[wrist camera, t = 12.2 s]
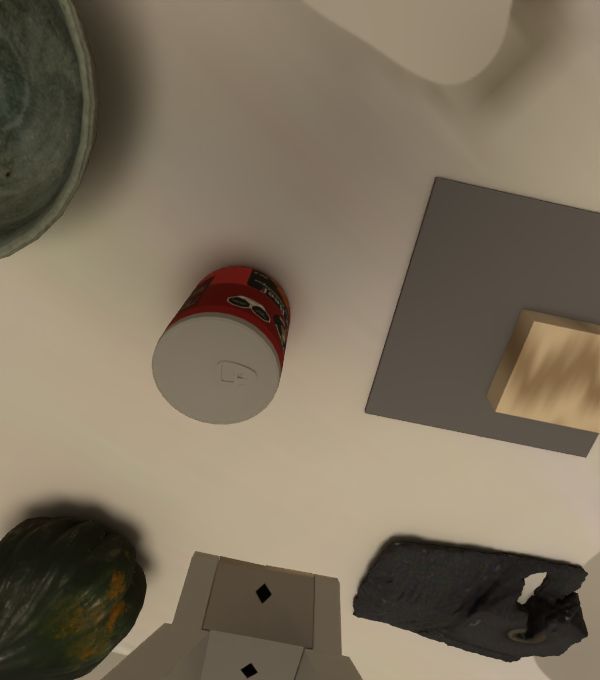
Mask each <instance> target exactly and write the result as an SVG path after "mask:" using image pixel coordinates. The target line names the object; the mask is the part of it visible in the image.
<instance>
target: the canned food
mask: <svg viewBox="0 0 600 680" xmlns="http://www.w3.org/2000/svg"><path fill="white" fill-rule="evenodd" d="M289 323H290V307H289V303H288V300H287V298H286V296H285V294H284V292H283V290H282V289H281V288H280V286H279V285H278V284H277V283H276V282H275V281H274V280H273V279H272V278H270V277H269V276H267V275H266V274H264V273H263V272H260V271H258V270H255V269H252V268H247V267H228V268H223V269H220V270H217V271H215V272H213V273H211V274H209V275H208V276H206V277H205V278H204V279H203V280H202V281H201V282H200V283H199V284H198V285H197V287H196V288H195V290H194V291H193V292H192V294H191V295H190V296H189V298H188V299H187V301H186V302H185V303H184V305H183V306H182V307H181V309H180V310H179V311H178V313H177V314H176V316H175V317H174V318H173V320H172V321H171V322H170V324H169V325H168V327H167V328H166V330H165V331H164V333H163V334H162V336H161V338H160V339H159V341H158V343H157V345H156V348H155V351H154V354H153V359H152V371H153V377H154V380H155V383H156V385H157V388H158V389H159V391H160V392H161V394H162V396H163V397H164V398H165V399H166V400H167V401H168V402H169V404H170V405H171V406H173V407H174V408H175V409H177V410H178V411H179V412H181V413H183V414H184V415H186V416H188V417H190V418H192V419H195V420H198V421H201V422H205V423H211V424H232V423H238V422H242V421H245V420H248V419H250V418H252V417H254V416H255V415H257V414H259V413H260V412H261V411H262V410H264V409H265V408H266V407H267V406H268V404H269V403H270V402H271V400H272V399H273V397H274V395H275V393H276V391H277V388H278V386H279V382H280V377H281V372H282V367H283V361H284V355H285V348H286V342H287V336H288V329H289Z"/></svg>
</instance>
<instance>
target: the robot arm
mask: <svg viewBox="0 0 600 680" xmlns="http://www.w3.org/2000/svg"><path fill="white" fill-rule="evenodd" d="M101 680H363V679H362V677H361V676H360V674H359V672H358V671H357V669H356V667H355V666H354V664H353V663H352V661H351V659H350V658H349V657H347V656H343V655H342V648H341V615H340V583H339V581H338V578H333V577H327V576H322V575H317V574H314V575H313V573H308V572H302V571H296V570H291V569H285V568H279V567H274V566H268V565H266V566H264V565H259V564H255V563H250V562H246V561H241V560H236V559H232V558H227V557H223V556H220V558H219V556H217V555H212V554H207V553H202V552H197V551H195V553H194V555H193V557H192V559H191V563H190V566H189V569H188V573H187V576H186V579H185V583H184V586H183V589H182V593H181V596H180V600H179V603H178V606H177V610H176V613H175V616H174V620H173V623H172V624H168V623H164V624H163V625H162V626H161V627H160V628H158V629H157V630H156V631H155V632H154V633H153V634H152V635H151V636H149V637H148V638H147V639H146V640H145V641H144V642H143V643H142V644H140V645H139V646H138V647H137V648H136V649H135V650H134V651H133V652H131V653H130V654H129V655H128V656H127V657H126V658H125V659H124V660H123V661H121V662H120V663H119V664H118V665H117V666H116V667H115V668H113V669H112V670H111V671H110V672H109V673H108V674H107V675H106V676H104V677H103V678H102V679H101Z"/></svg>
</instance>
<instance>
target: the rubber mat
mask: <svg viewBox="0 0 600 680" xmlns="http://www.w3.org/2000/svg"><path fill="white" fill-rule="evenodd" d="M522 309H526V310H530V311H535V312H540V313H544V314H549V315H554V316H558V317H563V318H568V319H572V320H577V321H582V322H587V323H591V324H596V325H600V213H595V212H591V211H586V210H582V209H577V208H573V207H568V206H564V205H559V204H555V203H550V202H546V201H541V200H537V199H532V198H528V197H523V196H519V195H514V194H510V193H505V192H501V191H496V190H492V189H487V188H483V187H478V186H474V185H469V184H465V183H460V182H456V181H452V180H447V179H443V178H438V177H436V179H435V182H434V185H433V189H432V192H431V195H430V199H429V202H428V205H427V208H426V212H425V215H424V218H423V221H422V225H421V228H420V231H419V235H418V238H417V241H416V244H415V248H414V251H413V254H412V257H411V261H410V264H409V267H408V271H407V274H406V277H405V280H404V284H403V287H402V290H401V294H400V297H399V300H398V303H397V307H396V310H395V313H394V316H393V320H392V323H391V326H390V330H389V333H388V336H387V339H386V343H385V346H384V349H383V352H382V356H381V359H380V362H379V366H378V369H377V372H376V375H375V379H374V382H373V385H372V389H371V392H370V395H369V398H368V402H367V405H366V408H365V413H367V414H372V415H377V416H382V417H387V418H392V419H397V420H402V421H407V422H412V423H417V424H422V425H427V426H432V427H437V428H442V429H447V430H452V431H456V432H461V433H466V434H471V435H476V436H481V437H486V438H491V439H496V440H501V441H506V442H511V443H516V444H521V445H526V446H531V447H536V448H541V449H546V450H551V451H556V452H561V453H566V454H571V455H576V456H580V457H585V458H586V457H587V455H588V453H589V451H590V449H591V447H592V446H593V444H594V442H595V440H596V438H597V436H598V435H599V433H597V432H592V431H587V430H582V429H577V428H572V427H567V426H562V425H557V424H553V423H548V422H543V421H538V420H533V419H528V418H523V417H518V416H513V415H508V414H504V413H499V412H495V411H494V409H493V407H492V405H491V403H490V401H489V400H488V398H487V396H486V395H487V393H488V391H489V388H490V386H491V383H492V381H493V379H494V376H495V374H496V371H497V369H498V367H499V364H500V362H501V359H502V357H503V355H504V352H505V350H506V347H507V345H508V343H509V340H510V338H511V335H512V333H513V331H514V328H515V326H516V323H517V321H518V319H519V316H520V314H521V311H522Z"/></svg>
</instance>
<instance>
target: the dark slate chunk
mask: <svg viewBox="0 0 600 680" xmlns="http://www.w3.org/2000/svg"><path fill="white" fill-rule="evenodd" d="M544 572H547V575H546V577H545V579H544V580H543V582H542V584H541V585H540V586H539V587H537V588H536V589H535V590H534V596H531V597H530V598H529V599H528V601H527V602H526V603H525V604H522V605H521V604H520V603H518V602H517V599H518V598H519V596H521V593H522V590H523V586H524V585H525V581H524V578H527V577H528V576H529V575H531V574H535V573H544ZM587 575H588V573H587V572H585V570H584V569H583V568H582V567H579V568H576V567H575V566H574V565H568V566H567V565H557V564H555V563H552V562H546V561H543V560H539V559H535V558H531V557H520V556H517V555H508V554H507V553H500V554H486V553H479V552H477V551H474V550H464V549H462V548H458V549H457V548H450V547H440V546H437V545H422V544H415V543H401V542H397V543H393V544H391V545H390V546H389V547H388V548H387V549H386V550H385V551H384V553H383V554H382V556H381V558H380V559H379V561H378V562H377V563H376V565H375V566H374V567H373V568H372V569H371V570H370V573H369V574H368V577H367V580H366V581H365V582H364V583H363V584H362V585H361V586H360V589H359V591H358V593H357V594H358V596H357V597H356V598H355V599H354V601H353V602H354V604H353V607H354V611H355V612H354V613H353V615H355V616H357V617H358V618H365V619H369V620H373V621H379V622H383V623H388V624H390V625H392V626H395V627H398V628H401V629H405V630H409V631H411V632H414V633H417V634H419V635H421V636H423V637H426V638H429V639H433V640H436V641H439V642H444V643H445V644H447V645H448V646H454V647H456V648H460V649H463V650H465V651H469V652H473V653H478V654H480V655H483V656H486V657H492V658H495V659H501V660H503V661H505V662H512V661H518V660H520V658H521V657H529V656H541V657H546V656H559V655H561V654H563V653H564V652H565V651H566V650H567V649H568V648H569V647H570V646H571V645H573V644H575V643H578V642H581V640H582V639H583V638H585V637H587V636H588V632H587V628H586V625H585V622H584V619H583V615H582V610H581V607H580V601H579V597H578V593H576V592H574V591H576V590H578V589H579V588H580V587H581V584H582V582H584V581H585V577H586V576H587Z"/></svg>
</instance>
